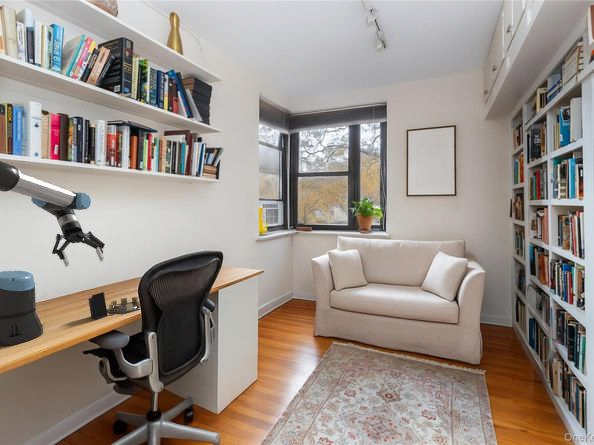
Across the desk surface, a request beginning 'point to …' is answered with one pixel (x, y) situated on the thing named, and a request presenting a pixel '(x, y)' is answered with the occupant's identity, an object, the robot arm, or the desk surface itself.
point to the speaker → (98, 306)
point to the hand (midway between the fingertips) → (85, 262)
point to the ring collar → (124, 306)
